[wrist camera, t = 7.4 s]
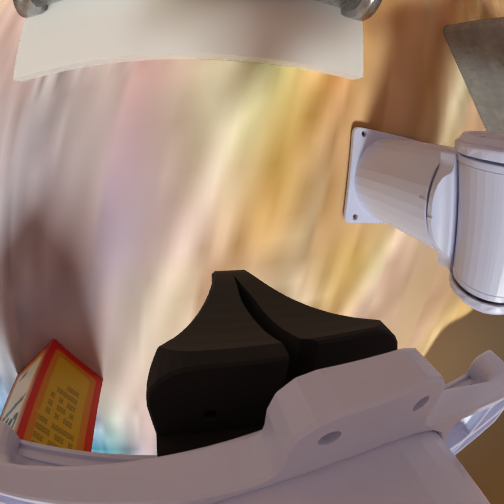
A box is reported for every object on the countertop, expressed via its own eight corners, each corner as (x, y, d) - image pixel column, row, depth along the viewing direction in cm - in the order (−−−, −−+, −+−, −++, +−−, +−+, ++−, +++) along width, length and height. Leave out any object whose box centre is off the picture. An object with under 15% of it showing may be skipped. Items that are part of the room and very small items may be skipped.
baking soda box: (53, 338, 22) (3, 484, 7) (103, 379, 25) (86, 523, 10) (17, 374, 22) (-21, 489, 8) (60, 407, 25) (40, 522, 11)
